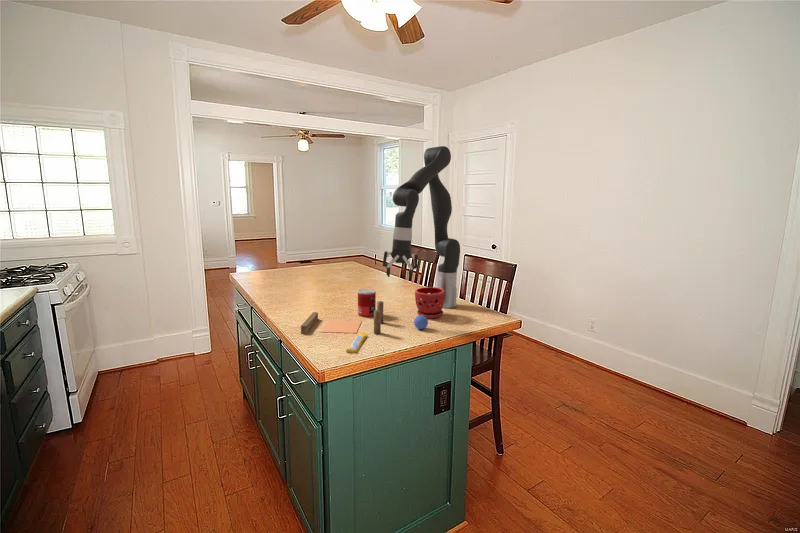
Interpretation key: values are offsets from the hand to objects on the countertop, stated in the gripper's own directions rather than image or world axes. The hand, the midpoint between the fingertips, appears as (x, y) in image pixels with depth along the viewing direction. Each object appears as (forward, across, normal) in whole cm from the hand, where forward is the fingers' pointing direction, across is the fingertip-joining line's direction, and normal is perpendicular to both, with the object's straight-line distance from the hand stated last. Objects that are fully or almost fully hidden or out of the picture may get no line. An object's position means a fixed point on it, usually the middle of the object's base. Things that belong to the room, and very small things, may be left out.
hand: (398, 277), depth 156 cm
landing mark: (+21, +21, +7) cm, 31 cm away
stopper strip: (+22, +34, +6) cm, 41 cm away
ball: (+16, -10, +8) cm, 21 cm away
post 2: (+20, +7, +14) cm, 25 cm away
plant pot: (+18, -15, -10) cm, 26 cm away
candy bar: (+22, +13, +25) cm, 35 cm away
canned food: (+20, +13, -10) cm, 26 cm away
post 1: (+20, +6, +1) cm, 21 cm away
